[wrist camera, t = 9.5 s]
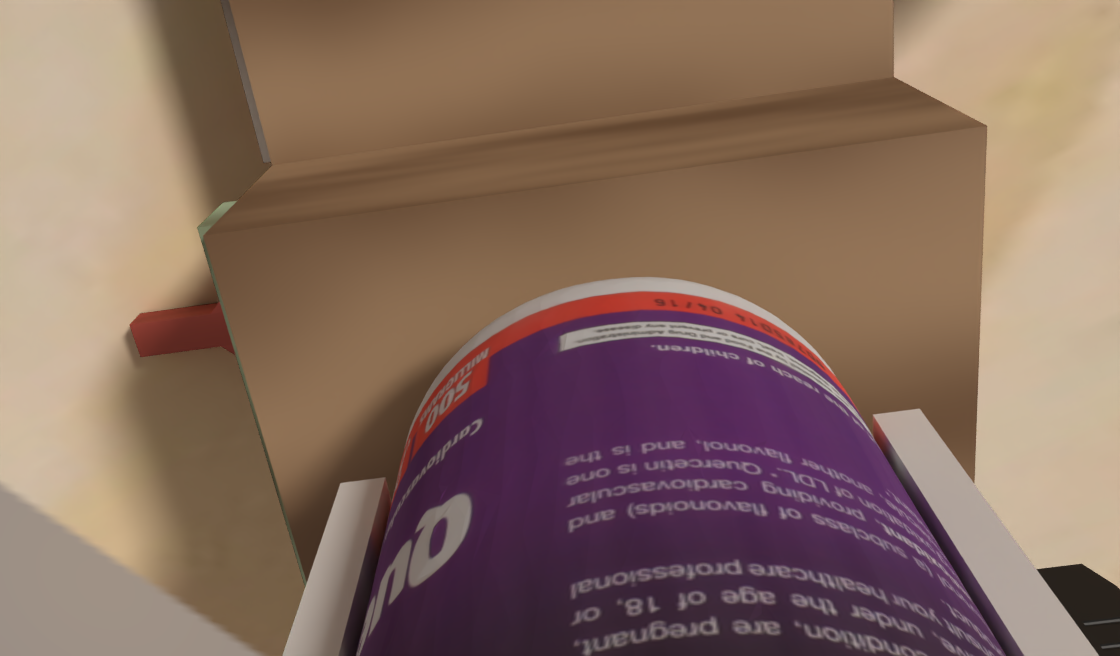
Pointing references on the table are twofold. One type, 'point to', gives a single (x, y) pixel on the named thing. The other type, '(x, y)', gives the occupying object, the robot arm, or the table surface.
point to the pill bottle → (654, 496)
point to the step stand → (574, 203)
